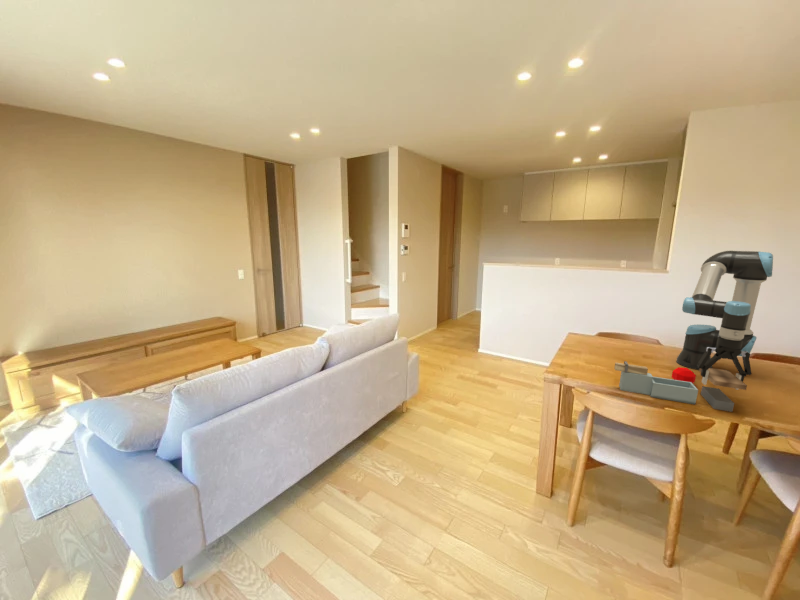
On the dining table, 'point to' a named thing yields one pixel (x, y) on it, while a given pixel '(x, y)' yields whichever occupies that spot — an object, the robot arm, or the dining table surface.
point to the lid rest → (717, 399)
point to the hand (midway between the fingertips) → (719, 385)
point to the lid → (724, 379)
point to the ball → (683, 375)
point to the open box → (673, 390)
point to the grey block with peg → (635, 381)
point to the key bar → (631, 368)
